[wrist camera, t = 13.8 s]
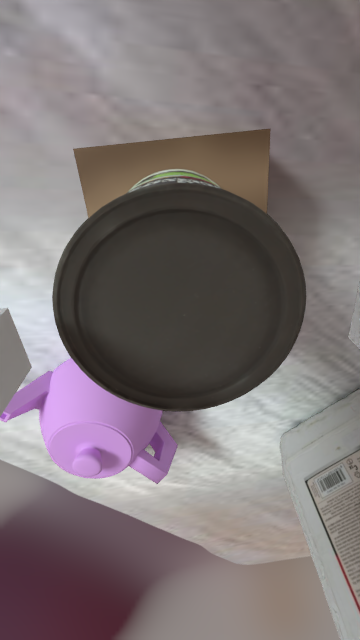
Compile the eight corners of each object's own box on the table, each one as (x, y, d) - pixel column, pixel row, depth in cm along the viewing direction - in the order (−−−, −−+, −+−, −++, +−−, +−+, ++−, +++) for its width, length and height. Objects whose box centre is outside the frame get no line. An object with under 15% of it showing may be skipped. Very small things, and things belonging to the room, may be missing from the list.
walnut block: (97, 150, 29) (73, 148, 22) (245, 135, 29) (270, 128, 22) (123, 288, 35) (111, 321, 28) (244, 276, 35) (262, 307, 28)
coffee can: (121, 152, 22) (56, 147, 10) (256, 187, 23) (354, 222, 11) (104, 284, 27) (47, 395, 14) (218, 306, 28) (256, 426, 16)
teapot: (203, 384, 43) (214, 460, 32) (148, 450, 49) (142, 532, 38) (51, 311, 37) (2, 375, 26) (10, 397, 43) (-42, 476, 32)
